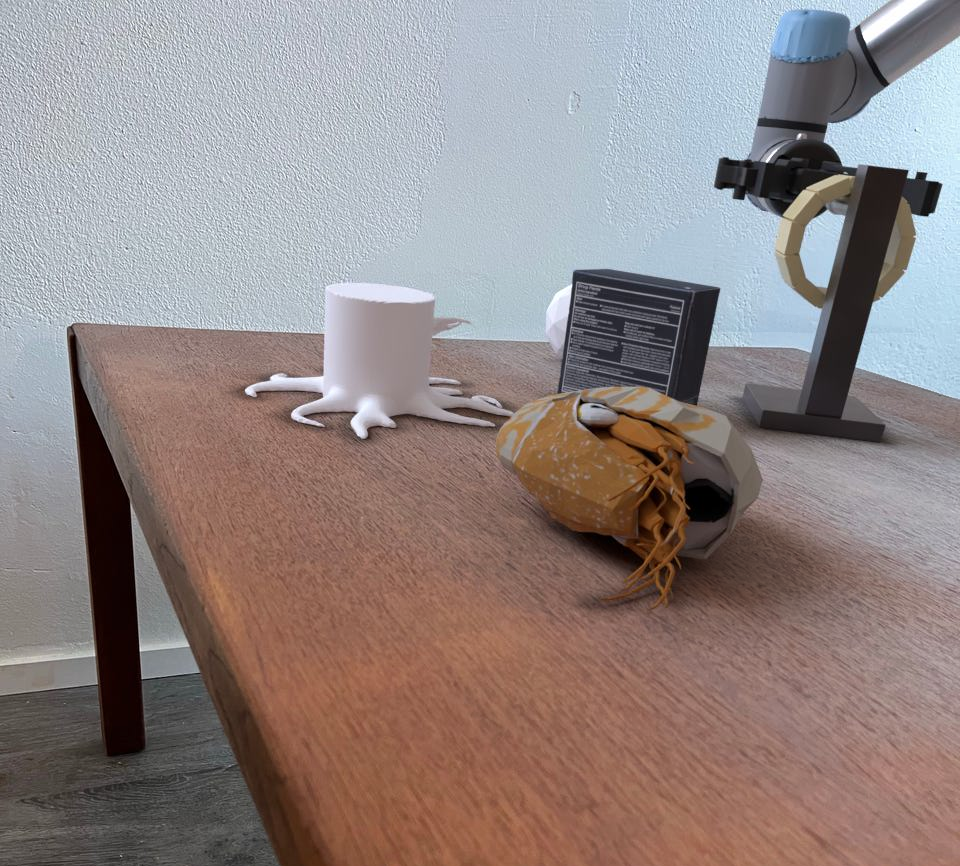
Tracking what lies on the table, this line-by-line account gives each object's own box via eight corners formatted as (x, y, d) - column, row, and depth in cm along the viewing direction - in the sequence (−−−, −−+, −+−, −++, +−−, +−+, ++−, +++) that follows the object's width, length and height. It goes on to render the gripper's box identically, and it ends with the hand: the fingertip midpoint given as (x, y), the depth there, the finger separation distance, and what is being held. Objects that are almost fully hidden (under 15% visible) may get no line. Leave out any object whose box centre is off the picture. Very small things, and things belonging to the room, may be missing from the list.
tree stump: (544, 431, 74) (559, 320, 70) (291, 442, 65) (293, 315, 62) (436, 367, 89) (443, 273, 85) (221, 369, 81) (218, 264, 77)
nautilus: (773, 665, 45) (447, 629, 46) (739, 490, 63) (506, 468, 65) (809, 503, 41) (451, 469, 42) (762, 366, 59) (513, 346, 61)
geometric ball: (592, 388, 100) (649, 328, 98) (570, 371, 93) (631, 306, 90) (543, 337, 102) (598, 277, 100) (518, 317, 94) (577, 251, 92)
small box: (699, 416, 83) (725, 285, 78) (669, 429, 78) (696, 291, 73) (587, 389, 87) (606, 264, 83) (552, 400, 82) (570, 268, 78)
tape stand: (841, 402, 93) (904, 169, 84) (880, 442, 81) (959, 175, 72) (736, 389, 94) (787, 156, 84) (759, 427, 81) (821, 160, 72)
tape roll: (877, 309, 86) (913, 183, 81) (892, 318, 82) (931, 186, 77) (763, 294, 86) (792, 168, 82) (772, 302, 82) (804, 170, 77)
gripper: (684, 125, 101) (709, 123, 82) (930, 153, 100) (1012, 157, 81) (670, 205, 104) (691, 220, 85) (908, 232, 103) (981, 254, 84)
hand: (847, 189), depth 83 cm, fingers open, 13 cm apart
